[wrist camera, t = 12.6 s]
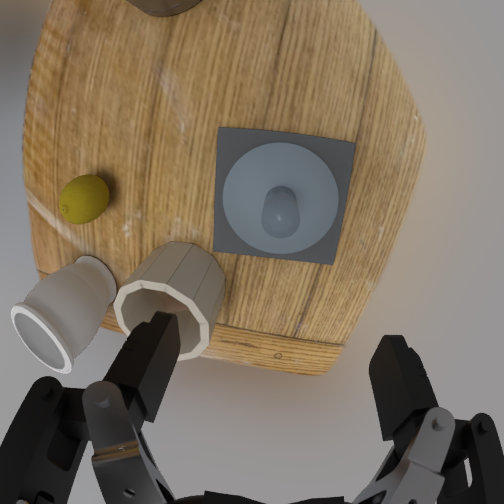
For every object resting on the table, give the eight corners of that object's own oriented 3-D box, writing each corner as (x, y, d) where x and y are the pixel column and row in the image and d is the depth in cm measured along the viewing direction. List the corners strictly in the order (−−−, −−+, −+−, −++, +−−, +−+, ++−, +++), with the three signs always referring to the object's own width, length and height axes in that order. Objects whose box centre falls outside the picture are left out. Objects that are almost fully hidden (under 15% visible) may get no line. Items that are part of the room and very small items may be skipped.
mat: (219, 127, 26) (218, 127, 26) (354, 142, 25) (355, 143, 25) (214, 249, 32) (213, 251, 32) (332, 262, 32) (333, 264, 31)
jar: (134, 306, 38) (85, 379, 25) (88, 308, 40) (41, 368, 26) (106, 242, 34) (36, 305, 20) (62, 253, 36) (0, 306, 22)
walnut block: (165, 269, 35) (153, 285, 31) (192, 263, 34) (182, 280, 30) (177, 294, 36) (167, 312, 33) (203, 290, 35) (195, 308, 32)
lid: (227, 137, 26) (211, 141, 20) (344, 151, 25) (363, 159, 19) (222, 244, 31) (207, 274, 25) (326, 256, 31) (336, 289, 25)
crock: (142, 238, 33) (106, 273, 25) (226, 247, 32) (208, 290, 24) (151, 306, 38) (125, 348, 29) (224, 318, 37) (210, 367, 29)
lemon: (124, 176, 29) (84, 194, 22) (115, 216, 32) (79, 242, 25) (91, 163, 29) (49, 177, 22) (84, 202, 31) (46, 223, 24)
